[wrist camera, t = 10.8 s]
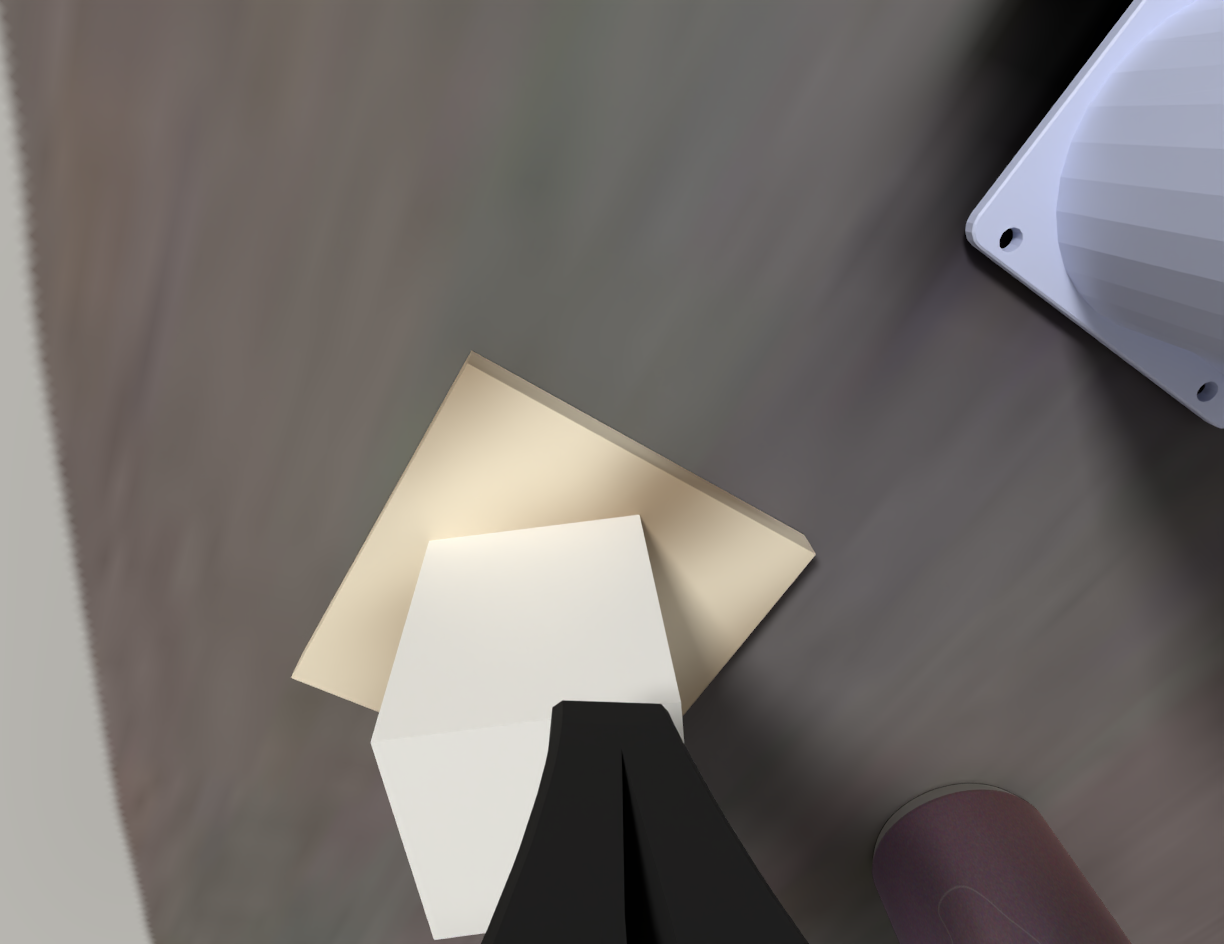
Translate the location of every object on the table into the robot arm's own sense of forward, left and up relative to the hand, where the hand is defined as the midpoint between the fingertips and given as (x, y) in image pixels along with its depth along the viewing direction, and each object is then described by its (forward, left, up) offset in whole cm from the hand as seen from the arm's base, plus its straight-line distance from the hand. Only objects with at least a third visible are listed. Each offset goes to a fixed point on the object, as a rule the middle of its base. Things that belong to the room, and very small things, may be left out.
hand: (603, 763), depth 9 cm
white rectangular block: (-2, +4, -9) cm, 10 cm away
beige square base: (-2, +4, -10) cm, 11 cm away
